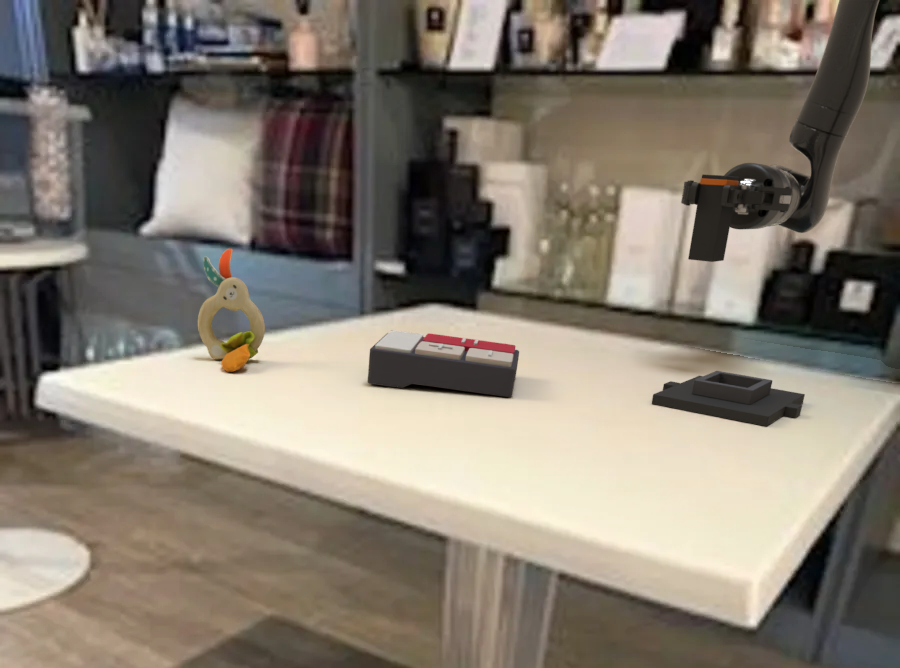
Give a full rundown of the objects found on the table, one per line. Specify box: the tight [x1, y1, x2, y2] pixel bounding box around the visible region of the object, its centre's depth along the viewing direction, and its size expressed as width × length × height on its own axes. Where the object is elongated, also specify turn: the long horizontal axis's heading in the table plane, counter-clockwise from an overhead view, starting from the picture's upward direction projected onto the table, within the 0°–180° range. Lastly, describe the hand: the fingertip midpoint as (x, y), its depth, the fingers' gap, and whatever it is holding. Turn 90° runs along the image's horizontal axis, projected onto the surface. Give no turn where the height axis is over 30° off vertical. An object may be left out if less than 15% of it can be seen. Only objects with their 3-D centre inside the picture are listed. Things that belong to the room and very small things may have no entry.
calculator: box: [367, 329, 520, 398], centre depth 94 cm, size 11×4×15 cm
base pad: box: [651, 370, 806, 427], centre depth 93 cm, size 14×14×2 cm
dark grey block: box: [687, 174, 739, 263], centre depth 101 cm, size 4×3×9 cm
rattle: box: [197, 248, 266, 373], centre depth 93 cm, size 8×8×12 cm
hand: (709, 194), depth 98 cm, fingers closed on dark grey block, 3 cm apart
